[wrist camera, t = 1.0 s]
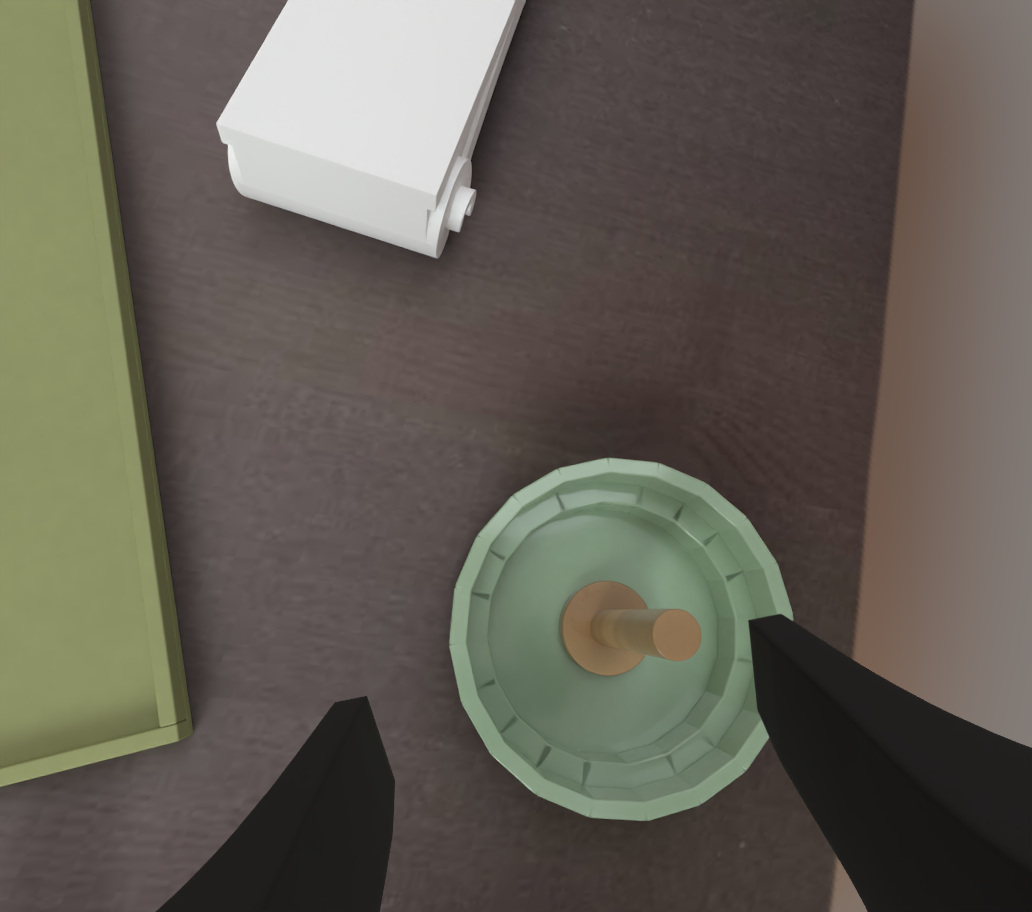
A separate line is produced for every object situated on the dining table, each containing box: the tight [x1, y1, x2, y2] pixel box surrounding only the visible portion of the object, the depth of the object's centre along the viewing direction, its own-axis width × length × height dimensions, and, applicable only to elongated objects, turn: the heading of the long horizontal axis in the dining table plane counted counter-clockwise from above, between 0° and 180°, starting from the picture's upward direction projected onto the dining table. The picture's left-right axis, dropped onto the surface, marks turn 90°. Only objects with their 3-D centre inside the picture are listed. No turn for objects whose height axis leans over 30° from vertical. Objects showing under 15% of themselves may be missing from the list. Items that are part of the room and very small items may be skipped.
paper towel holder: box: [559, 581, 702, 676], centre depth 23 cm, size 4×4×9 cm
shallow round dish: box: [448, 457, 793, 821], centre depth 26 cm, size 12×12×4 cm
